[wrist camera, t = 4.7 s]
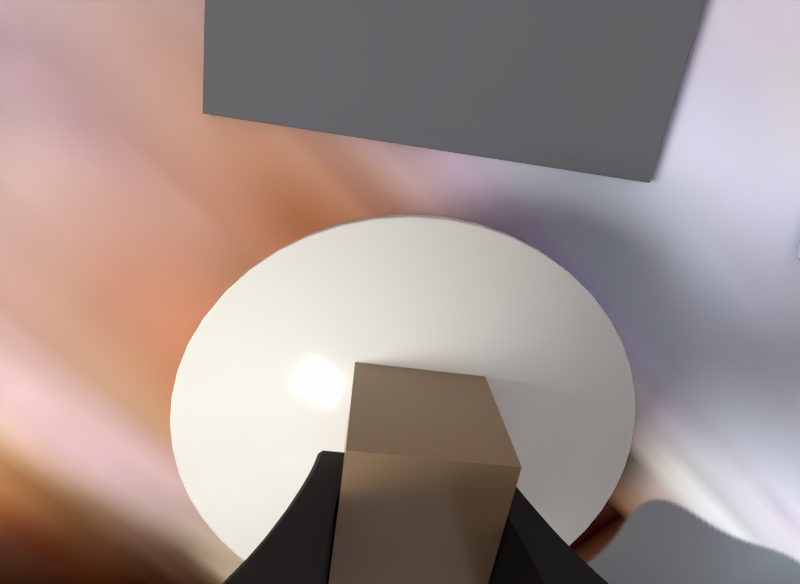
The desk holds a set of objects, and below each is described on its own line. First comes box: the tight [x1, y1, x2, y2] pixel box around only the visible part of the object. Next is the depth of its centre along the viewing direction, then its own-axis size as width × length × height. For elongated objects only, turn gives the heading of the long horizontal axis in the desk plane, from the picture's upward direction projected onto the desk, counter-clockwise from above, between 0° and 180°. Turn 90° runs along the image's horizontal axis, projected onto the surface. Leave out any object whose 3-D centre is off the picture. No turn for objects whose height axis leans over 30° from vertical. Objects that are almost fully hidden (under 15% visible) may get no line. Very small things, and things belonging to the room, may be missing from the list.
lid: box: [170, 214, 635, 584], centre depth 12 cm, size 13×13×4 cm
